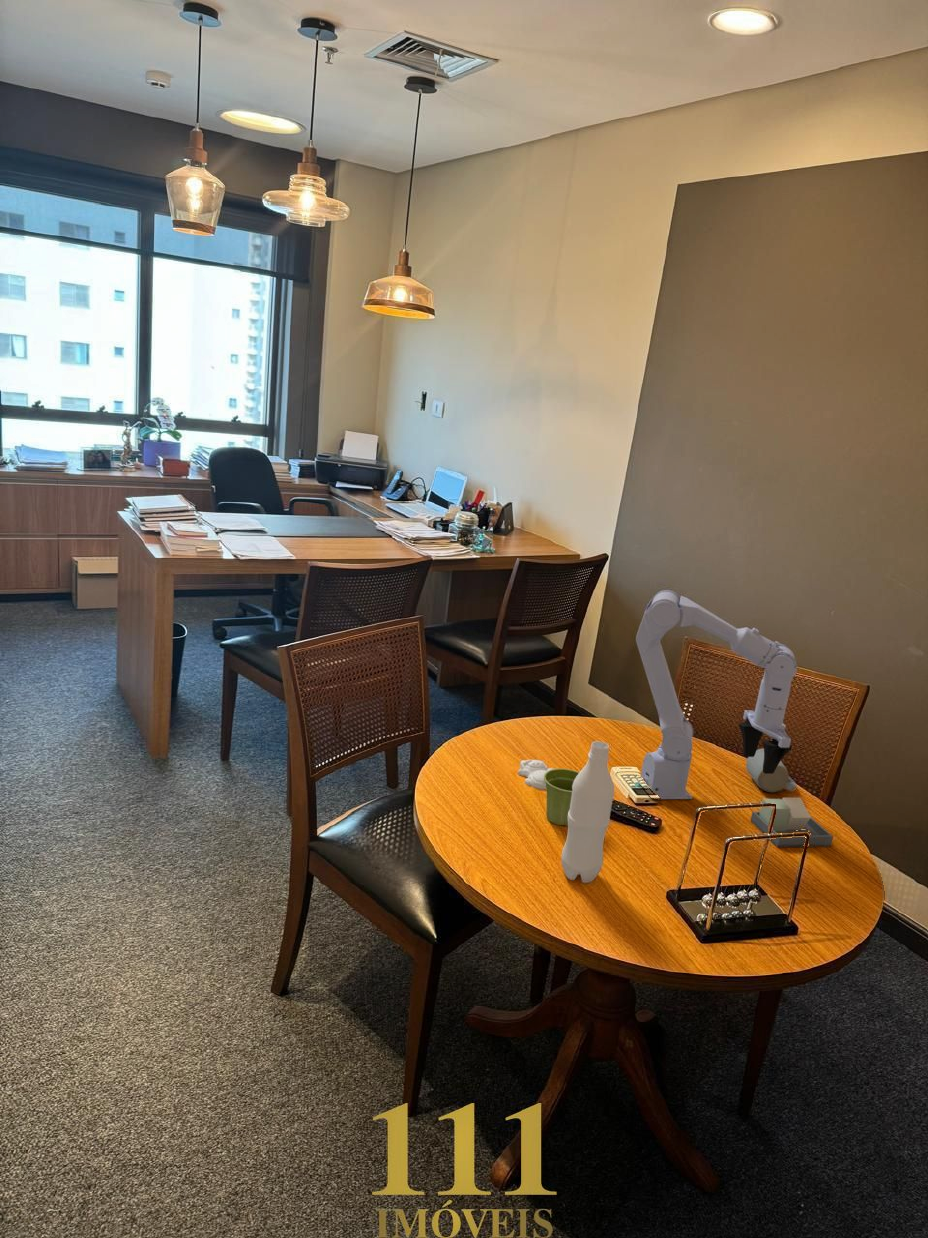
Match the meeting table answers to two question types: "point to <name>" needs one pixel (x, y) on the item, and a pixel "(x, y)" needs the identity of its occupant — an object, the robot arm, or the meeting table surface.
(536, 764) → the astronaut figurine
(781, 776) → the ceramic mug
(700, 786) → the meeting table surface
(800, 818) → the grey block
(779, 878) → the meeting table surface
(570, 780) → the plant pot
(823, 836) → the tray
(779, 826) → the sage block
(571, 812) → the water bottle
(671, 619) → the robot arm
